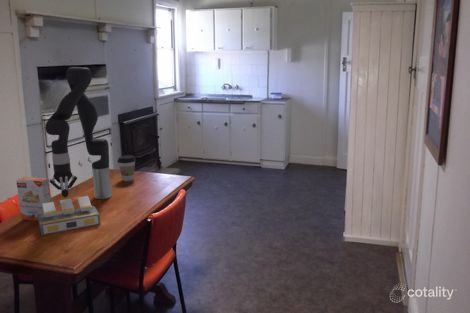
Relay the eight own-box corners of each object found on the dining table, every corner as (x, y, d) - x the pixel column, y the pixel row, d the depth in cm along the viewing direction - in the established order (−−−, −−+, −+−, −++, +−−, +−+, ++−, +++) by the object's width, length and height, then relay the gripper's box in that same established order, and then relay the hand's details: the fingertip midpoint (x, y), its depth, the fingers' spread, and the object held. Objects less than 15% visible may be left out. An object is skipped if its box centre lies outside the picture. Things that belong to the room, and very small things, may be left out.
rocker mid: (60, 203, 219) (60, 200, 218) (71, 201, 222) (70, 198, 221) (63, 214, 213) (63, 211, 212) (74, 213, 215) (74, 209, 214)
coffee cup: (116, 182, 286) (114, 158, 282) (123, 177, 297) (121, 154, 293) (133, 182, 284) (131, 159, 280) (139, 177, 295) (138, 155, 291)
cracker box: (21, 220, 224) (15, 179, 219) (28, 216, 229) (23, 176, 225) (46, 222, 221) (41, 180, 216) (53, 217, 227) (48, 177, 222)
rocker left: (42, 207, 216) (42, 203, 215) (53, 205, 218) (53, 201, 217) (44, 217, 209) (44, 213, 208) (56, 215, 211) (56, 211, 210)
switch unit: (39, 225, 217) (37, 214, 216) (94, 215, 229) (93, 204, 227) (41, 235, 205) (40, 224, 204) (100, 224, 216) (99, 213, 215)
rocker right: (77, 200, 223) (77, 197, 222) (88, 199, 225) (87, 195, 224) (81, 211, 216) (80, 208, 215) (91, 210, 219) (91, 206, 217)
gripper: (74, 158, 221) (78, 192, 225) (45, 162, 215) (49, 197, 219) (77, 161, 215) (80, 196, 219) (47, 165, 209) (51, 201, 213)
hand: (65, 196), depth 219 cm, fingers closed
